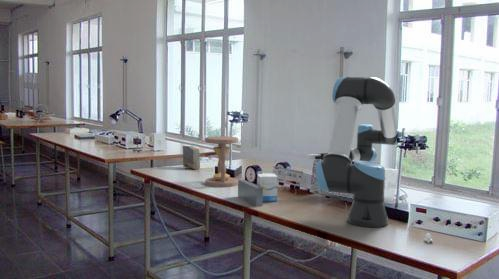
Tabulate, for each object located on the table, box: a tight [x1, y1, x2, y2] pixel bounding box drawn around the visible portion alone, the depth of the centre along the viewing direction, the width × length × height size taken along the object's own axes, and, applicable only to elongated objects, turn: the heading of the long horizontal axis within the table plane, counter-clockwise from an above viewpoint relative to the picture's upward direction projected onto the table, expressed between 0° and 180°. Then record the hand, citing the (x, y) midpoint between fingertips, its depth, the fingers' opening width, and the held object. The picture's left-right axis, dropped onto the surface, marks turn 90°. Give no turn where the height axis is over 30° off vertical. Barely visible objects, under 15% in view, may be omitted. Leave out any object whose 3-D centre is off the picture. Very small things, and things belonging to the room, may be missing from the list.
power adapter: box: [423, 233, 434, 244], centre depth 158 cm, size 3×3×3 cm
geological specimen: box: [182, 145, 201, 170], centre depth 298 cm, size 11×6×15 cm, turn 45°
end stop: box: [237, 179, 264, 207], centre depth 214 cm, size 20×5×8 cm, turn 25°
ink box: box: [256, 172, 278, 202], centre depth 217 cm, size 8×8×12 cm
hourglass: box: [204, 135, 239, 188], centre depth 251 cm, size 18×18×25 cm
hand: (308, 157), depth 222 cm, fingers closed
